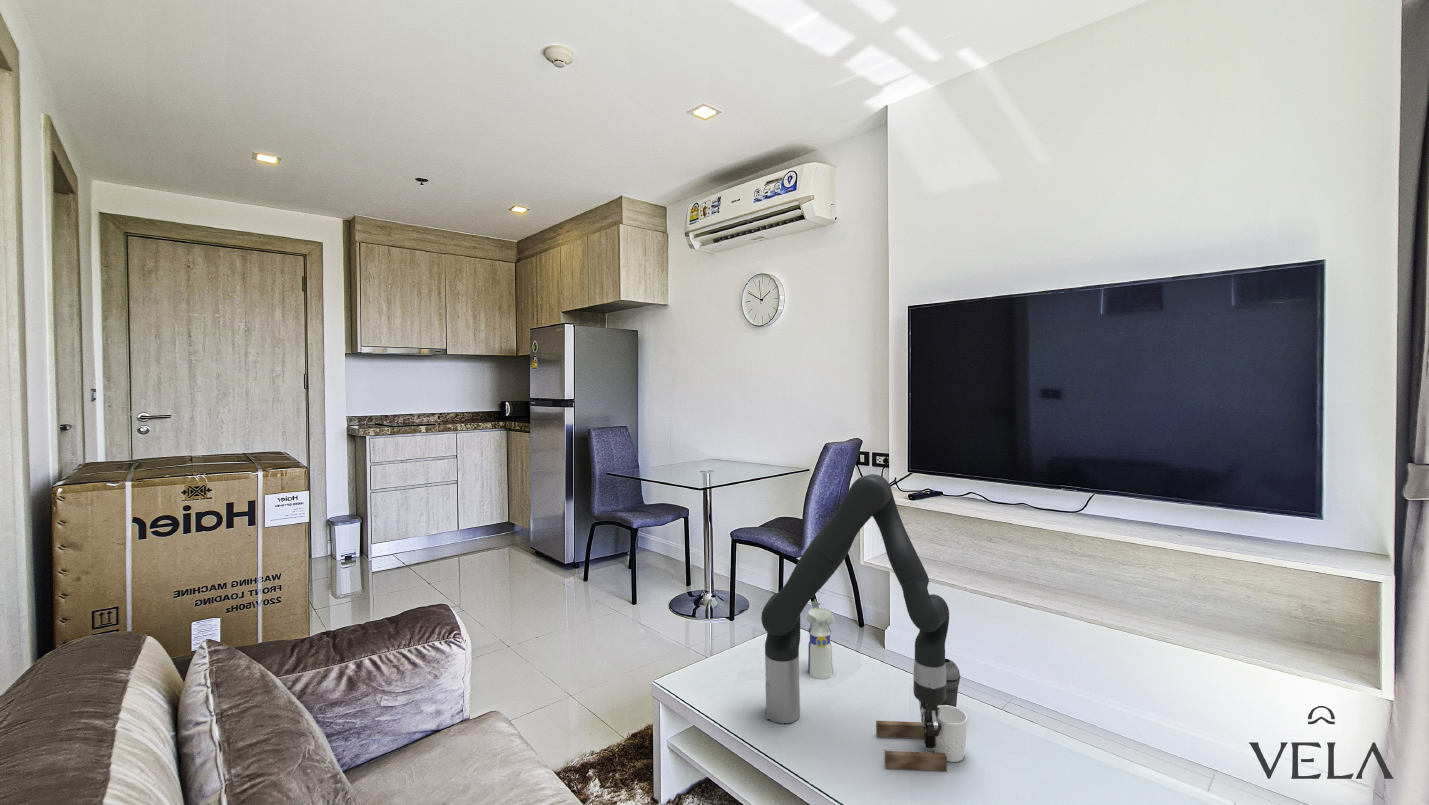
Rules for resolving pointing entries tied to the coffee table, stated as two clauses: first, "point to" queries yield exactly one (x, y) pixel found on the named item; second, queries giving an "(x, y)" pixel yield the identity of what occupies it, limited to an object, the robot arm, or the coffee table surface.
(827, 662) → the white and blue figurine
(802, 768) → the coffee table surface
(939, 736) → the white cup
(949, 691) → the beverage cup
